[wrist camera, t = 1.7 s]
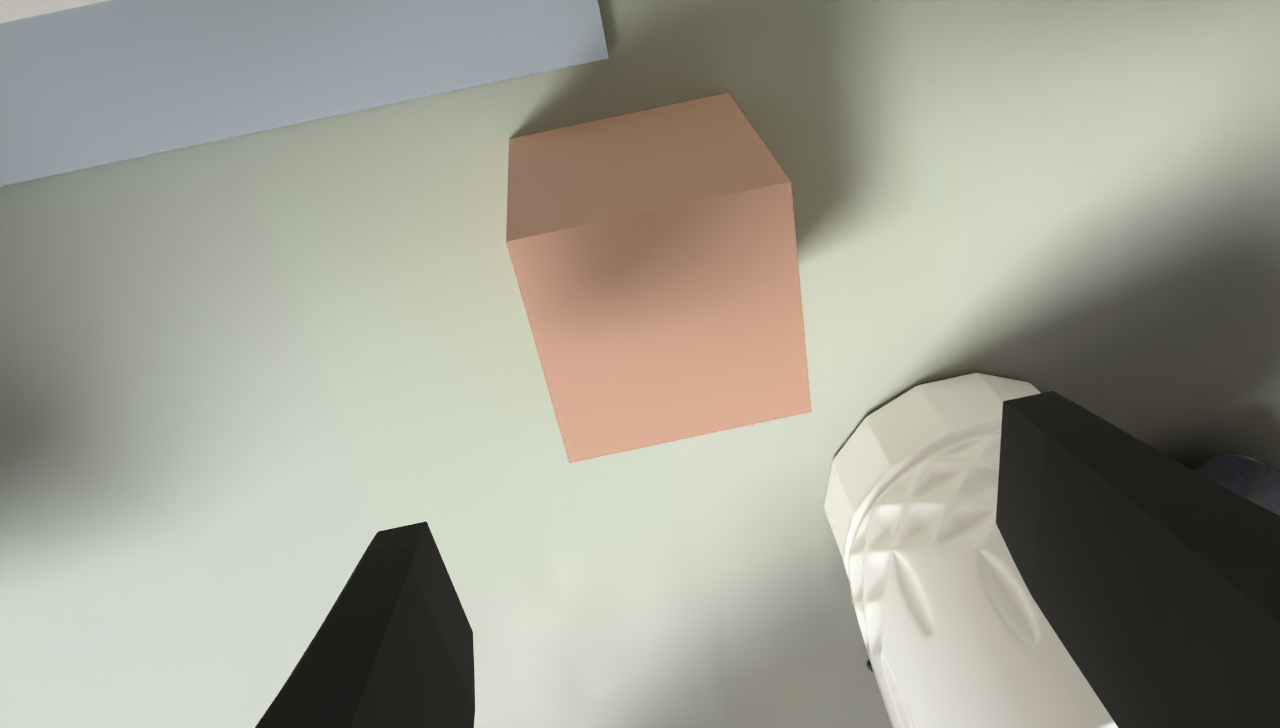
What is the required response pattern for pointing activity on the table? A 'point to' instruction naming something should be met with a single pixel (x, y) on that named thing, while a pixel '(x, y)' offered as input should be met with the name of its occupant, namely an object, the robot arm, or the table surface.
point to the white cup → (947, 568)
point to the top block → (658, 275)
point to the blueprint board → (249, 67)
